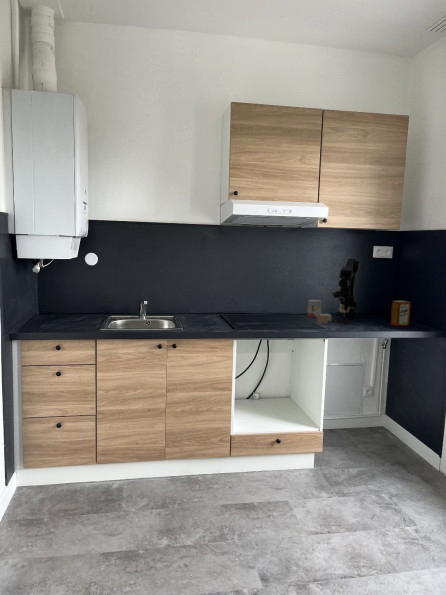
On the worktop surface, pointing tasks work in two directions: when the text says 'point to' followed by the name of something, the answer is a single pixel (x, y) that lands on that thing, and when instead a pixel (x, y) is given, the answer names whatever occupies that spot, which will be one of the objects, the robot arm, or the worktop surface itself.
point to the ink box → (314, 308)
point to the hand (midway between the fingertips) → (344, 310)
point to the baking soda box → (400, 313)
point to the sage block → (328, 316)
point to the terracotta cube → (322, 318)
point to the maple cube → (343, 308)
